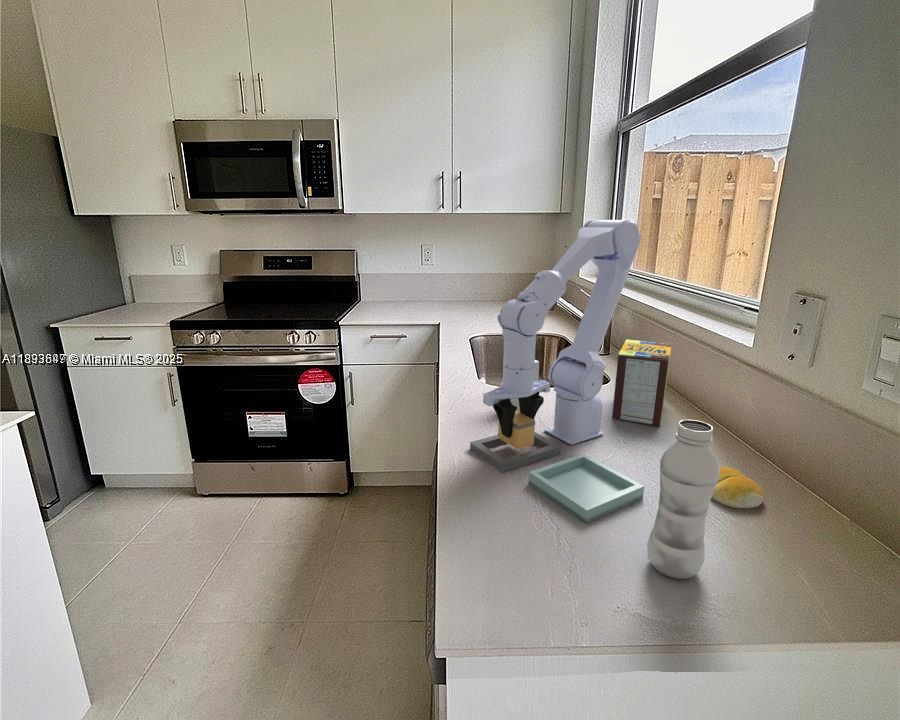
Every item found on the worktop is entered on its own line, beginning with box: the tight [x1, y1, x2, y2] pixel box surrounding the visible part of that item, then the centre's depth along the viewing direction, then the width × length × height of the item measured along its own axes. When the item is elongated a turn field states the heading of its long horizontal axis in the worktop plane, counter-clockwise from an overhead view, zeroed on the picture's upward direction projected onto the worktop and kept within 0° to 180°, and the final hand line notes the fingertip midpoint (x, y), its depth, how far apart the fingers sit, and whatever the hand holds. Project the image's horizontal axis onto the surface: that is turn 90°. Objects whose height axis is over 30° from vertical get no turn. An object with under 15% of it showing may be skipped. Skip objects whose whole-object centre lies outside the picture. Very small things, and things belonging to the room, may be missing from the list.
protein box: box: [611, 339, 672, 428], centre depth 109 cm, size 10×15×16 cm
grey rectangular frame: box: [469, 431, 562, 473], centre depth 92 cm, size 14×10×2 cm
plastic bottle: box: [646, 419, 721, 580], centre depth 58 cm, size 6×7×20 cm
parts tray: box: [528, 453, 645, 524], centre depth 78 cm, size 13×13×2 cm
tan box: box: [497, 411, 536, 451], centre depth 91 cm, size 4×6×5 cm
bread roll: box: [711, 466, 765, 509], centre depth 77 cm, size 8×9×4 cm
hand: (515, 432), depth 91 cm, fingers closed on tan box, 4 cm apart
